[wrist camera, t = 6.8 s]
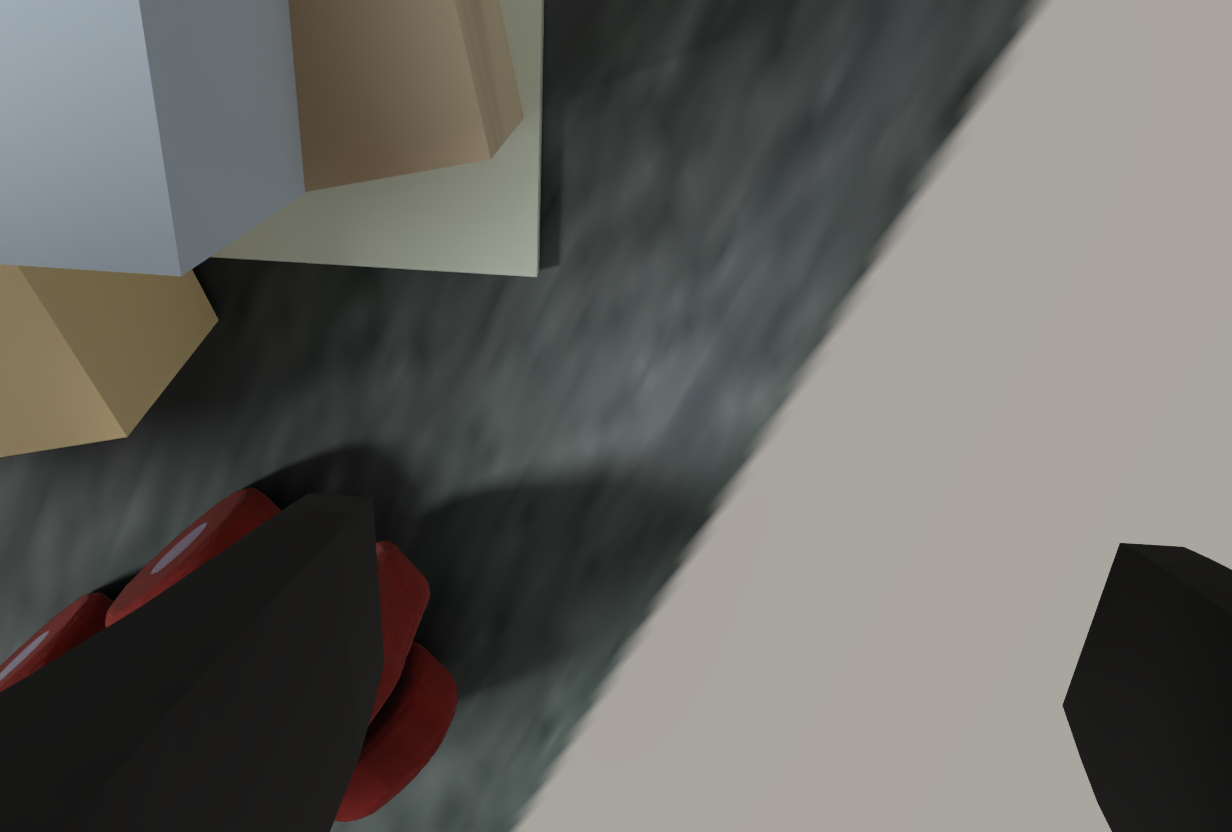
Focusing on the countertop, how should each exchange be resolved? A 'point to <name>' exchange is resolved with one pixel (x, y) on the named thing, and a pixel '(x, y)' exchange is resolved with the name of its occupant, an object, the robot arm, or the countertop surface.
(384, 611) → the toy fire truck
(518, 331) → the countertop surface
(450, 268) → the plate
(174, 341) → the ochre block
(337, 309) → the countertop surface
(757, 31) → the countertop surface
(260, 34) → the blue block
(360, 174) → the maple block
